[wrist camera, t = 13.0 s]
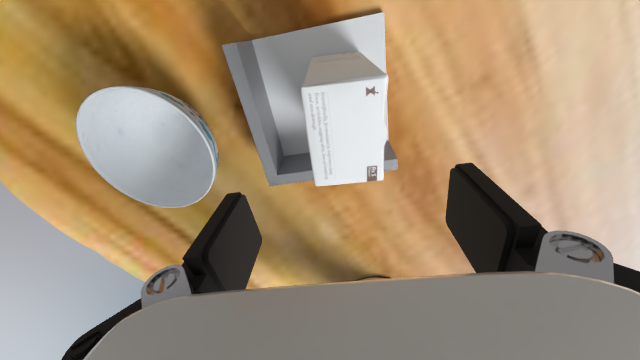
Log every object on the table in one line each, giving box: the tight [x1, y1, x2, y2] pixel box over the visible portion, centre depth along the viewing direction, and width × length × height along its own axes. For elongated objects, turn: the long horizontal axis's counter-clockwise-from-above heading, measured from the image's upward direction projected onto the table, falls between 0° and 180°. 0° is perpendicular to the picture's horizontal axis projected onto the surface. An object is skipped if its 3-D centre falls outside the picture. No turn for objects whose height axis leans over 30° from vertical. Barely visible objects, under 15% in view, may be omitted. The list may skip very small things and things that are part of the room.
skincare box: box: [301, 52, 388, 186], centre depth 23 cm, size 8×6×15 cm
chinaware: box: [76, 86, 218, 208], centre depth 31 cm, size 15×15×8 cm
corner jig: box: [222, 12, 398, 186], centre depth 28 cm, size 16×16×6 cm
